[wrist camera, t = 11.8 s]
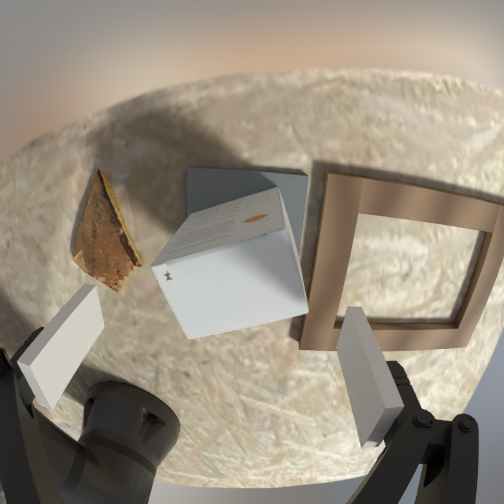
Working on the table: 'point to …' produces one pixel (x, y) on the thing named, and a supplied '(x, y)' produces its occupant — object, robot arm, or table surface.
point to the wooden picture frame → (405, 207)
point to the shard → (105, 239)
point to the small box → (233, 267)
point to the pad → (246, 190)
